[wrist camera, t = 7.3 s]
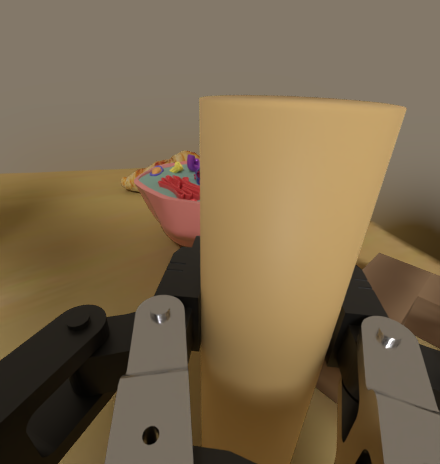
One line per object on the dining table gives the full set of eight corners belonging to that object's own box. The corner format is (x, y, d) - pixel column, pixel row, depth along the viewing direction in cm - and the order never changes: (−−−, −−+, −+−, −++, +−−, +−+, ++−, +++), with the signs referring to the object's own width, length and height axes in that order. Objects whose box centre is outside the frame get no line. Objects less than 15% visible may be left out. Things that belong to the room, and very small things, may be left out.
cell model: (164, 208, 43) (158, 132, 38) (294, 215, 42) (307, 137, 36) (119, 274, 28) (97, 165, 23) (318, 290, 27) (346, 176, 21)
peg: (183, 438, 13) (159, 96, 6) (242, 381, 15) (275, 94, 8) (250, 530, 10) (348, 118, 3) (308, 443, 13) (432, 105, 6)
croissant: (127, 217, 48) (121, 185, 41) (119, 176, 53) (113, 141, 46) (238, 200, 54) (248, 170, 48) (222, 165, 59) (229, 133, 53)
